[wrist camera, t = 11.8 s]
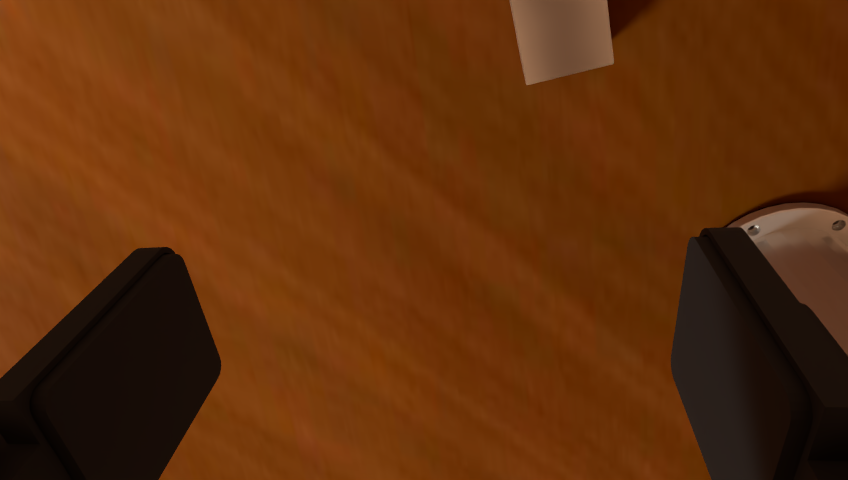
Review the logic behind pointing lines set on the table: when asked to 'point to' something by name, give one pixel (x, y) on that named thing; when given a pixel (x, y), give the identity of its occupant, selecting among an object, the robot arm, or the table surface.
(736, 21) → the table surface
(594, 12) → the beige block
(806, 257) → the robot arm
